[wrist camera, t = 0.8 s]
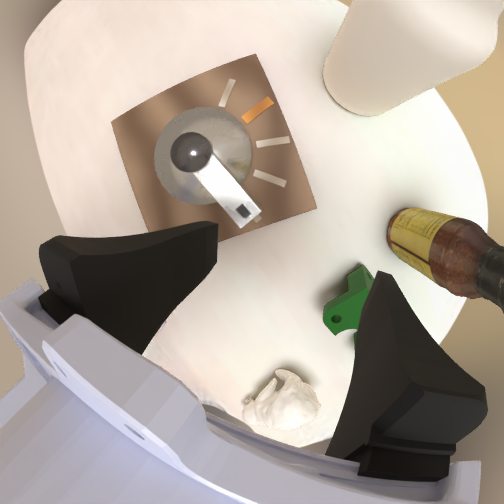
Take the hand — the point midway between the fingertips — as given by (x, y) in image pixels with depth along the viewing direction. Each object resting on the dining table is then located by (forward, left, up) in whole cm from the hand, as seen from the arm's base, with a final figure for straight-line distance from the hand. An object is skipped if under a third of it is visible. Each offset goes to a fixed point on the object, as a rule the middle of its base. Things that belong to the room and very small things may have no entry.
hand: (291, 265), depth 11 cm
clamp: (+6, -15, -18) cm, 24 cm away
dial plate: (-5, +8, -18) cm, 21 cm away
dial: (-5, +7, -16) cm, 18 cm away
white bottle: (+14, +11, -18) cm, 25 cm away
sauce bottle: (+14, -7, -18) cm, 24 cm away
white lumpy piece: (-8, -24, -18) cm, 31 cm away
